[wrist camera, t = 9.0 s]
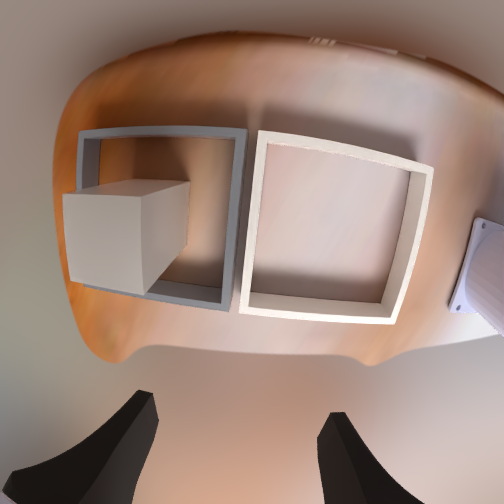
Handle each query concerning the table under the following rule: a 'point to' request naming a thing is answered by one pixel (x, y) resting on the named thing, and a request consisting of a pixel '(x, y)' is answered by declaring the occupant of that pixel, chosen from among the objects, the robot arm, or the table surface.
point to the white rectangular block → (125, 232)
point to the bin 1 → (223, 296)
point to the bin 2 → (402, 258)
